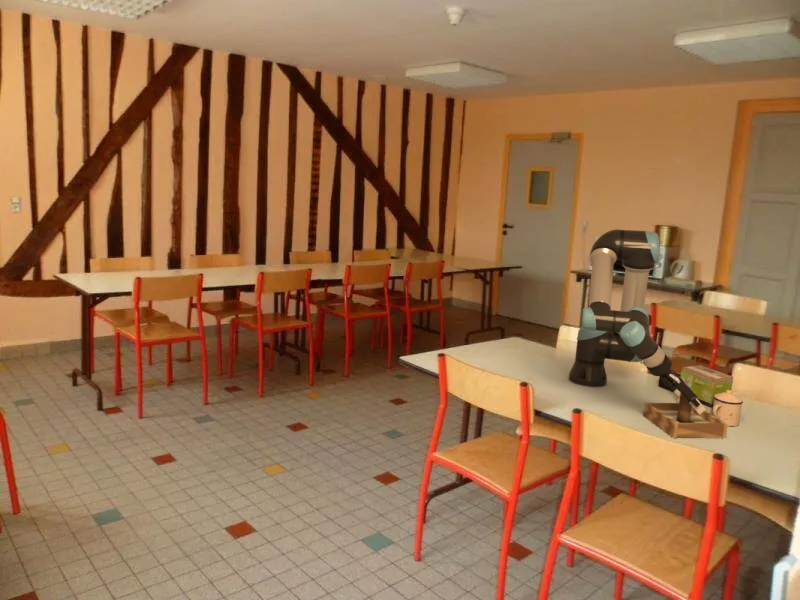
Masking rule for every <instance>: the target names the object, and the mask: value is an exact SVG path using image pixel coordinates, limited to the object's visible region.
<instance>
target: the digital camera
mask: <svg viewBox="0 0 800 600" xmlns="http://www.w3.org/2000/svg"><path fill="white" fill-rule="evenodd" d="M673 371H674V370H673ZM674 372H675V373H676V375H677V376H680V377H681V373H678V372H676V371H674ZM658 377H659V376H658ZM657 387H659V388H661V389H664V390H667V391H669V392H671V393H674V391H672V390H671V389H670V388H668V387H667V386H666V384H665V383H664V382H663V380H662V379H661V378H660V377H659V378H658V385H657Z"/></svg>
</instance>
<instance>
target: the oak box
mask: <svg viewBox="0 0 800 600" xmlns="http://www.w3.org/2000/svg"><path fill="white" fill-rule="evenodd" d="M678 407H679V403H677V402H644V408H643V415H642V416H643V417H644V418H646V420H648V421H649V422H650V423H651V424H653V425H654V424H655V426H656V427H657V428H658V427H659V430H661V431H662V430H663V431H662V432H664V433H665V434H666V433H667V434H666V435H668V436H669V435H670V436H671V438H672V437H673V438H725V439H726V438H727V437H726V436H727V432H728V426H727V425H728V424H726V423H725V422H723V421H721V420H720V419H718V418H716V417H715V416H713V415H711V414H710V413H708V412H707V411H705V410H704V411H703V412H702V413H701V414H700V415H699V414H698V413H697V412H696V410H695V409H694V408H693V407H692V409H691V416H690V423H679V422H678V421H677V415H678ZM670 436H669V437H670ZM673 438H672V439H673Z"/></svg>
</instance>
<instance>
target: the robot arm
mask: <svg viewBox="0 0 800 600" xmlns="http://www.w3.org/2000/svg"><path fill="white" fill-rule="evenodd" d="M590 249H591V250H590V255H589V256H590V257H589V259H590V262H591V263H592V264H591V273H590V274H591V275H590V287H589V298H588V307H584V308H583V309H582V315H581V323H580V325H581V327H580V328H579V329H578V333H577V337H576V342H577V343H576V349H575V358H574V363H573V366H572V368H571V369H570V371H569V375H568V376H569V377H568V380H569V381H570V382H572V383H574V384H578V385H580V386H585V387H603V386H606V385H607V382H608V375H607V373H606V368H605V360H612V361H613V360H614V361H622V362H628V363H631V362H632V363H640V364H641V365H644V367H646V369H647V370H648V371H649V372H650V374H651V375H652V376H654V377H660V378H661V379H662V380H663V382H664V383H665V384H666V386H667V387H668V388H670V389H671V390H672V391H674V392H673V393H674V394H675V396H677V399H678V398H679V399H680V393H681V394H682V395H683V396H684V397H685V398H686V399H687V403H690V405H691V406H692V407H693V408H694V409H695V410H696V412H697V413H698V414H699V415H700V414H701V413H702V412H703V411H704V410H705V408H704V406H703V405H702V404H701V403H700V402H699V400H698V399H697V395H695V394H694V393H693V391H692V390H691V389H690V388H689V387H688V386H687V385H686V384H685V383H684V381H683V380H682V379H681V378H680V376H677V375H676V373H677V372H676V371H675V372H676V373H675V372H674V370H673V369H672V366H673V362H672V360H671V359H670V358H669V356H668V355H667V353H666V354H665V352H664V350H663V349H662V348H661V347H660V346H659V344H657V342H656V341H655V340H654V338H652V336H651V332H650V316H649V314H648V312H647V310H645V303H646V302H645V301H646V296H647V289H648V288H647V287H648V282H649V281H648V280H649V273H650V271H652V270H653V269H654V268H655V264H659V262H660V258H661V257H660V256H661V255H660V250H661V249H660V236H659V235H658V233H657V232H656V231H655V232H654V231H647V230H635V229H634V230H630V229H628V230H627V229H612V230H611V229H610V230H608V231H606V232H605V233H603V234H601V236H599V237H598V238H597V240H595V241H594V243H593V245H592V247H591V248H590ZM617 261H621V264H622V265H621V266H622V267H623V268H624V269H625V270H624V271H625V272H624V278H623V286H622V294H621V301H620V302H621V303H620V310H613V309H612V294H613V277H614V264H615V263H616V262H617Z"/></svg>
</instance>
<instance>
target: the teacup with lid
mask: <svg viewBox="0 0 800 600" xmlns="http://www.w3.org/2000/svg"><path fill="white" fill-rule="evenodd" d="M743 403H744V401H743V399H742V398H741V397H739V396H737V395H736V394H735V393H733V390H732V389H731V390H726V392H723V393H718V394H715V395H714V403H713V410H712V415H713V416H715V417H716V418H718V419H720V420H721V421H723V422H725V423H726V424H728V425H727V427H730V426H734V427H737V425H738V426H739V423H740V419H741V412H742V405H743Z"/></svg>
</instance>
